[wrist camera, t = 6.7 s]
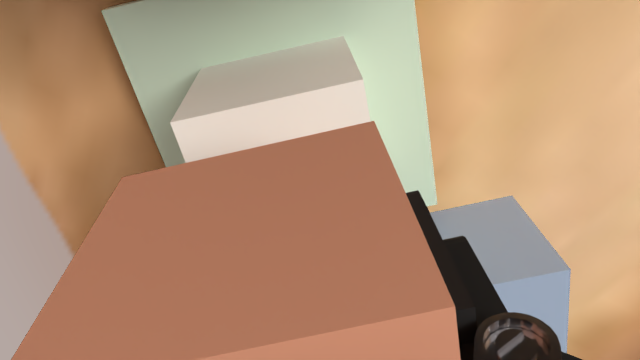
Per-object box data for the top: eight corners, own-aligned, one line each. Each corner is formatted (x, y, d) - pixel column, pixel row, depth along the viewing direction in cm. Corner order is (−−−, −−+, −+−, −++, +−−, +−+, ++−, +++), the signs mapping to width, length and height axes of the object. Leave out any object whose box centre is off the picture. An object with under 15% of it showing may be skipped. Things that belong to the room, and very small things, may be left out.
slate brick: (513, 282, 28) (565, 368, 23) (410, 303, 28) (437, 392, 23) (511, 194, 25) (570, 269, 20) (396, 218, 25) (424, 298, 20)
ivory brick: (367, 164, 23) (391, 239, 17) (242, 190, 23) (228, 273, 18) (343, 35, 20) (363, 79, 15) (201, 68, 20) (170, 122, 15)
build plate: (433, 196, 25) (437, 204, 24) (204, 244, 25) (201, 253, 25) (402, -64, 19) (407, -63, 18) (107, 7, 20) (101, 10, 19)
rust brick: (406, 310, 14) (480, 548, 9) (205, 351, 14) (159, 607, 9) (373, 120, 11) (455, 305, 6) (122, 177, 11) (-16, 403, 6)
